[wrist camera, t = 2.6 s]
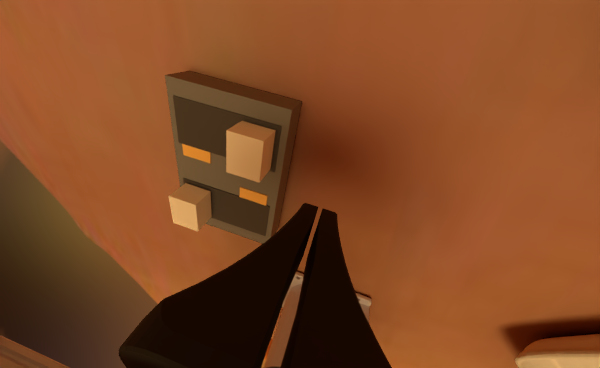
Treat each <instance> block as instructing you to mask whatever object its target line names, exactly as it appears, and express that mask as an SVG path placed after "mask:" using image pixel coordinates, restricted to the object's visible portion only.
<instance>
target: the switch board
mask: <svg viewBox="0 0 600 368" xmlns="http://www.w3.org/2000/svg"><path fill="white" fill-rule="evenodd" d="M165 79H166V86H167V93H168V101H169V108H170V115H171V123H172V130H173V137H174V145H175V152H176V159H177V167H178V174H179V181H180V187H181V186H182V185H184V184H185V183H187V184H190V185H193V186H196V187H199V188H202V189H205V190H208V191H210V192H211V215H212V217H211V218H210V219H209V220H208V221H207V222H206V224H208V225H211V226H214V227H217V228H220V229H222V230H225V231H228V232H231V233H234V234H237V235H240V236H242V237H245V238H248V239H251V240H254V241H257V242H260V243H262V244H263V243H265V242H266V241H267V240H268V239H270V238H271V237H272V236H273V235H274V234H275V233H276V231H277V229H278V226H279V221H280V215H281V210H282V205H283V199H284V194H285V189H286V183H287V178H288V173H289V167H290V162H291V157H292V152H293V146H294V141H295V136H296V130H297V125H298V120H299V114H300V109H301V104H302V101H299V100H295V99H291V98H288V97H284V96H280V95H277V94H273V93H269V92H265V91H262V90H258V89H254V88H251V87H247V86H243V85H239V84H236V83H232V82H228V81H225V80H221V79H217V78H214V77H210V76H206V75H202V74H199V73H195V72H191V71H186V72H180V73H174V74H168V75H165ZM241 121H245V122H248V123H252V124H255V125H259V126H262V127H266V128H269V129H273V130H276V131H275V138H274V146H273V153H272V161H271V168H270V170H269V171H268V173H267V174H266V175H265V176H264V178H263V179H262V180H261V181H260V183H259V182H256V181H252V180H249V179H246V178H243V177H240V176H237V175H234V174H230V173H227V172H226V130H228V129H229V128H231V127H233V126H234V125H236V124H237V123H239V122H241Z"/></svg>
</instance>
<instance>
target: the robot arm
mask: <svg viewBox="0 0 600 368" xmlns="http://www.w3.org/2000/svg"><path fill="white" fill-rule="evenodd" d="M317 210H318V207H316V206H313V205H310V204H307V203H305V204H303V205H302V206H301V208H300V209H299V210H298V212H297V213H296V214H295V215H294V216H293V217H292V218H291V219H290V220H289V221H288V222H287V223H286V224H285V225H284V226H283V227H282V228H281V229H280V230H279V231H278V232H277V233H275V234H274V235H273V236H272V237H271V238H270V239H268V240H267V241H266V242H265V243H263V244H262V245H261V246H259V247H258V248H257V249H255V250H254V251H253V252H251V253H250V254H248V255H247V256H245V257H244V258H242V259H241V260H239V261H237V262H236V263H234V264H233V265H231V266H229V267H228V268H226V269H224V270H222V271H220V272H218V273H217V274H215V275H213V276H211V277H209V278H207V279H205V280H204V281H202V282H200V283H198V284H196V285H193V286H191V287H189V288H187V289H185V290H182V291H180V292H178V293H176V294H174V295H171V296H169V297H167V298H165V299H163V300H162V301H161V302H160V303H159V304H158V305H157V306H156V307H155V308H154V309H153V310H152V311H151V312H150V313H149V314H148V315H147V316H146V317H145V318H144V319H143V320H142V321H141V322H140V323H139V325H138V326H137V327H136V328H135V330H134V331H133V332H132V333H131V334H130V336H129V337H128V338H127V339H126V341H125V342H124V343H123V344H122V345H121V347H120V349H119V356H120V358H121V360H122V362H123V363H124V365H125V366H126V368H263V367H262V364H263V361H264V358H265V355H266V352H267V349H268V346H269V343H270V340H271V337H272V334H273V331H274V328H275V325H276V322H277V319H278V316H279V313H280V310H281V307H282V308H283V310H282V313H281V316H280V319H279V322H278V325H277V329H276V332H275V335H274V338H273V341H272V344H271V347H270V350H269V353H268V356H267V359H266V362H265V365H264V368H392V367H391V365H390V364H389V362H388V360H387V358H386V357H385V355H384V353H383V351H382V349H381V347H380V345H379V343H378V341H377V339H376V338H375V335H374V333H373V331H372V329H371V327H370V325H369V307H370V305H371V303H372V300H371V299H370V298H369V297H366V296H363V295H360V294H357V293H355V290H354V288H353V285H352V282H351V279H350V276H349V273H348V270H347V267H346V263H345V260H344V256H343V252H342V247H341V243H340V238H339V231H338V223H337V214H336V213H335V212H332V211H329V210H326V209H322V212H321V216H320V219H319V222H318V225H317V228H316V231H315V234H314V237H313V240H312V244H311V247H310V250H309V254H308V257H307V261H306V266H305V271H304V274H302V273H299V272H296V271H297V269H298V267H299V264H300V262H301V260H302V257H303V255H304V251H305V248H306V245H307V242H308V239H309V236H310V232H311V229H312V226H313V223H314V219H315V216H316V213H317ZM0 368H70V367H67V366H65V365H63V364H61V363H59V362H57V361H54V360H52V359H50V358H48V357H46V356H44V355H42V354H39V353H37V352H35V351H33V350H31V349H29V348H26V347H24V346H22V345H20V344H18V343H16V342H14V341H11V340H9V339H7V338H5V337H3V336H1V335H0Z"/></svg>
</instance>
